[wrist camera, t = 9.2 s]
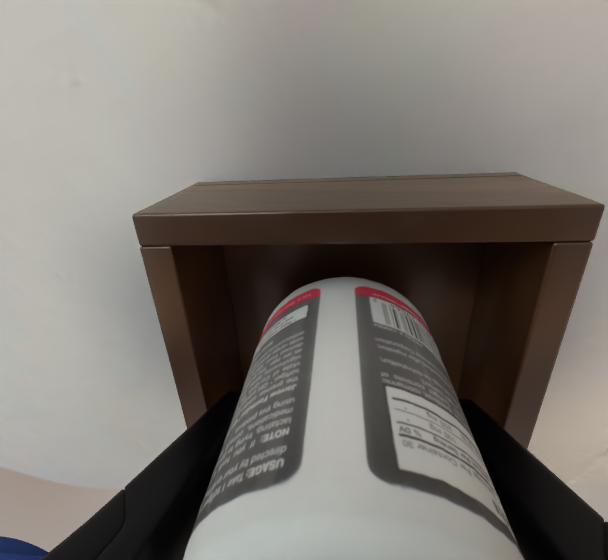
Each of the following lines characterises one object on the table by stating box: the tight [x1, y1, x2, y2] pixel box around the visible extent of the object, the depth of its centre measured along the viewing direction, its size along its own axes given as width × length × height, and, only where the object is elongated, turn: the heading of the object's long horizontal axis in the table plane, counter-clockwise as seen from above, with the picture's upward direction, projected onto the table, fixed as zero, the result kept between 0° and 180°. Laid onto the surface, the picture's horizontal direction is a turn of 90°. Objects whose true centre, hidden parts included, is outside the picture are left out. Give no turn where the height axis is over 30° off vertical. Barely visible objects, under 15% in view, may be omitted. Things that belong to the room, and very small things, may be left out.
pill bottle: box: [183, 277, 525, 560], centre depth 7 cm, size 5×5×10 cm
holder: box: [133, 172, 604, 449], centre depth 12 cm, size 10×10×4 cm
